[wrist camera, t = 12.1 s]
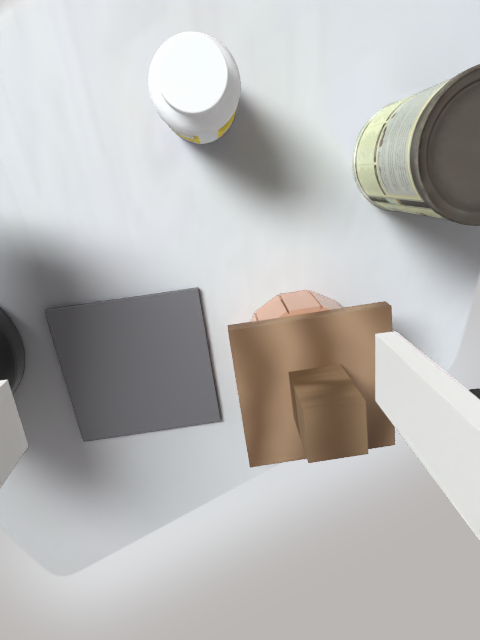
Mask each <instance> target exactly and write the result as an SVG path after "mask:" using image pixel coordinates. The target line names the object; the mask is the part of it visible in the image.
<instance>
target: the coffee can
mask: <svg viewBox="0 0 480 640" xmlns="http://www.w3.org/2000/svg"><path fill="white" fill-rule="evenodd" d="M353 171H354V177H355V180H356V182H357V185H358V187H359V189H360V191H361V192H362V194H363V195H364V196H365V197H366V198H367V199H368V200H369V201H370V202H371V203H373V204H374V205H376V206H377V207H380V208H382V209H386V210H390V211H402V212H407V213H413V214H420V215H425V216H431V217H436V218H443V219H448V220H450V221H453V222H456V223H460V224H465V225H474V226H479V225H480V64H479V65H476V66H474V67H472V68H469V69H467V70H466V71H464V72H462V73H460V74H458V75H457V76H455V77H454V78H451V79H449V80H447V81H444V82H442V83H440V84H438V85H435V86H433V87H431V88H428V89H426V90H424V91H422V92H419V93H417V94H415V95H412V96H410V97H408V98H406V99H403V100H401V101H398V102H395V103H392V104H390V105H387V106H386V107H384V108H382V109H381V110H379V111H378V112H377V113H375V114H374V115H373V116H372V117H371V118H370V119H369V121H368V122H367V123H366V124H365V126H364V127H363V129H362V130H361V132H360V134H359V136H358V138H357V141H356V144H355V148H354V152H353Z"/></svg>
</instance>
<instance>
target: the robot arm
mask: <svg viewBox="0 0 480 640" xmlns="http://www.w3.org/2000/svg"><path fill="white" fill-rule="evenodd" d="M24 366H25V354H24V348H23V344H22V340H21V338H20V335H19V333H18V331H17V329H16V327H15V326H14V324H13V323H12V321H11V320H10V318H9V317H8V316H7V315H6V314H5V313H4V312H3V311H2V309H0V488H1V487H2V485H3V484H4V482H5V481H6V479H7V478H8V476H9V475H10V473H11V472H12V470H13V469H14V467H15V466H16V464H17V463H18V461H19V460H20V458H21V457H22V455H23V454H24V452H25V451H26V449H27V448H28V446H29V445H28V442H27V439H26V436H25V433H24V429H23V426H22V423H21V420H20V417H19V414H18V410H17V407H16V404H15V401H14V398H13V392H14V391H15V390H16V388H17V387H18V385H19V383H20V381H21V379H22V376H23V372H24ZM375 401H376V402H377V404H378V405H379V406H380V408H381V409H382V410H383V412H384V413H385V414H386V416H387V417H388V418H389V420H390V421H391V423H392V424H393V425H394V427H395V428H396V429H397V431H398V432H399V433H400V435H401V436H402V437H403V439H404V440H405V441H406V442H407V444H408V445H409V446H410V448H411V449H412V451H413V452H414V453H415V455H416V456H417V457H418V459H419V460H420V461H421V463H422V464H423V465H424V466H425V468H426V469H427V471H428V472H429V473H430V474H431V476H432V477H433V479H434V480H435V481H436V483H437V484H438V485H439V487H440V488H441V489H442V491H443V492H444V493H445V495H446V496H447V497H448V499H449V500H450V501H451V503H452V504H453V505H454V507H455V508H456V509H457V511H458V512H459V513H460V515H461V516H462V517H463V519H464V520H465V521H466V523H467V524H468V525H469V527H470V528H471V529H472V531H473V532H474V533H475V535H476V536H477V537H478V539H479V540H480V389H471V390H467V389H466V388H465V387H464V386H463V385H461V384H460V383H459V382H458V381H456V380H455V379H454V378H453V377H452V376H450V375H449V374H448V373H447V372H445V371H444V370H443V369H442V368H441V367H439V366H438V365H437V364H436V363H434V362H433V361H432V360H431V359H430V358H428V357H427V356H426V355H425V354H423V353H422V352H421V351H420V350H418V349H417V348H416V347H415V346H414V345H412V344H411V343H410V342H409V341H407V340H406V339H405V338H404V337H403V336H401V335H400V334H399V333H398V332H396V331H394V332H386V333H378V334H375Z"/></svg>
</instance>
